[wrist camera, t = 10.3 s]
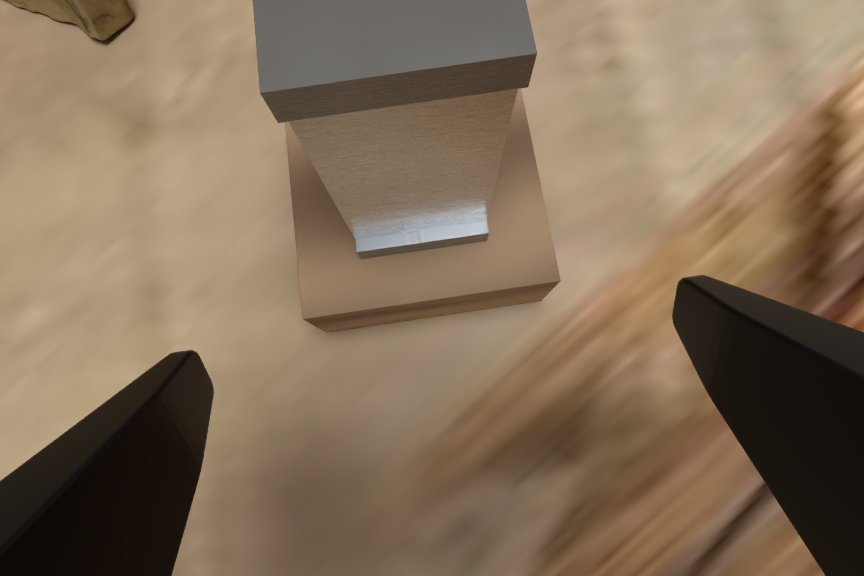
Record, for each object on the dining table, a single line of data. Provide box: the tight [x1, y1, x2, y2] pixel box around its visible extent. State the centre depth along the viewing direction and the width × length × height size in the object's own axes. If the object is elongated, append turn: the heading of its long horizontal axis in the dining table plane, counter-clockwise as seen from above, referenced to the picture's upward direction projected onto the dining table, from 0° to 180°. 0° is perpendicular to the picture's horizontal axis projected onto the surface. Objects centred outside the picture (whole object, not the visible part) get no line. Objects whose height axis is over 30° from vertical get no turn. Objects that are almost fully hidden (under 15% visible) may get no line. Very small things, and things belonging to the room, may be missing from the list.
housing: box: [253, 0, 537, 259], centre depth 15 cm, size 6×5×11 cm
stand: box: [285, 88, 560, 332], centre depth 22 cm, size 10×10×4 cm
